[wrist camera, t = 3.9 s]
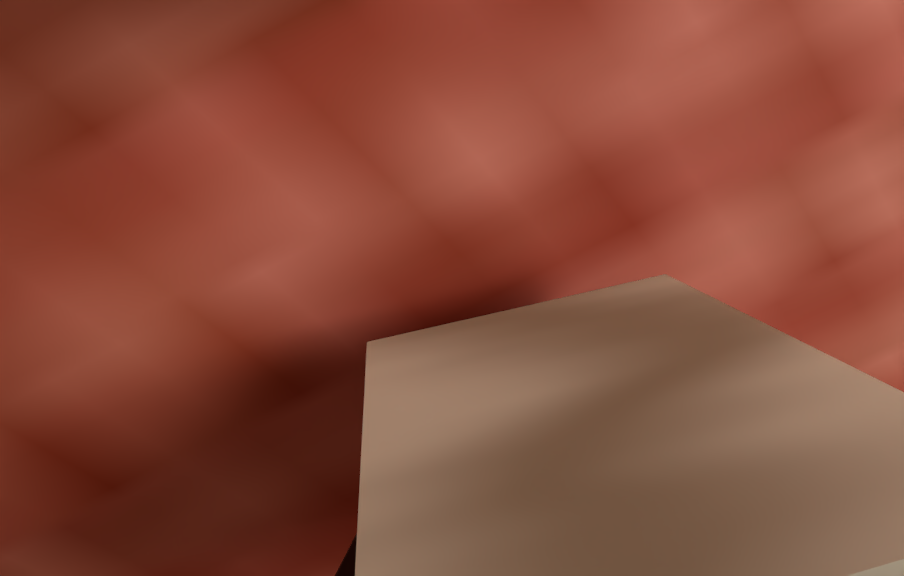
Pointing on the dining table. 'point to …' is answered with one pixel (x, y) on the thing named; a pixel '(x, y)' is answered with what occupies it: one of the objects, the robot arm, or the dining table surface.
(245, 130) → the dining table surface
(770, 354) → the birch cube
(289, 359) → the dining table surface
